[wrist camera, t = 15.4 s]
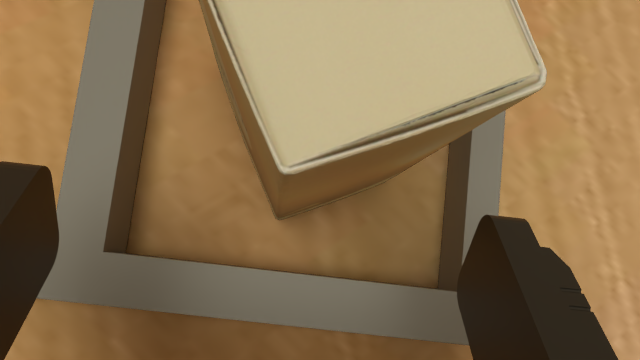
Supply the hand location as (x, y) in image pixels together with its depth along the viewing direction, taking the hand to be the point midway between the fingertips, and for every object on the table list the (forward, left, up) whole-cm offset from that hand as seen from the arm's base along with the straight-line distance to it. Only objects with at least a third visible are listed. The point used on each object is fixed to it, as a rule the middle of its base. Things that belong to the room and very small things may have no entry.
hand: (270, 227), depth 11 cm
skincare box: (0, +4, -9) cm, 10 cm away
